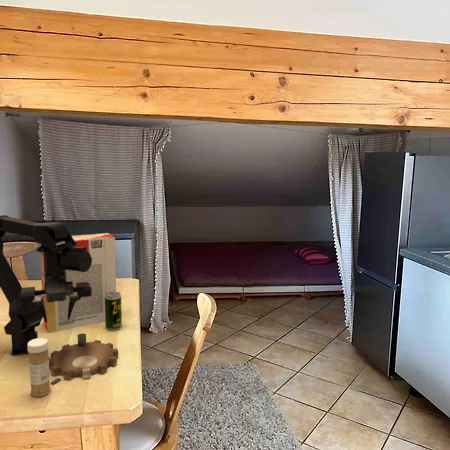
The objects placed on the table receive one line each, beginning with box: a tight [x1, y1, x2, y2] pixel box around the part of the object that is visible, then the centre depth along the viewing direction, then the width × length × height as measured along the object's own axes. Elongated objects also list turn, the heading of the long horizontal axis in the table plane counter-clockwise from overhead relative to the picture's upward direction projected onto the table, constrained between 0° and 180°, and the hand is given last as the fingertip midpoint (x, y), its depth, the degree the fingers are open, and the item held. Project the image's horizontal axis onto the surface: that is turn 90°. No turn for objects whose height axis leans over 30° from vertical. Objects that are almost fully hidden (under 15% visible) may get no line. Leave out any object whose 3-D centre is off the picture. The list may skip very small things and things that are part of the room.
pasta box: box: [38, 232, 117, 334], centre depth 142 cm, size 23×8×30 cm, turn 122°
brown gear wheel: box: [48, 333, 119, 380], centre depth 117 cm, size 19×19×5 cm
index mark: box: [50, 377, 62, 386], centre depth 107 cm, size 2×1×1 cm, turn 161°
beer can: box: [104, 291, 123, 332], centre depth 140 cm, size 5×5×12 cm
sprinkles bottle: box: [27, 337, 51, 398], centre depth 101 cm, size 5×5×14 cm
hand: (57, 320), depth 118 cm, fingers open, 6 cm apart
